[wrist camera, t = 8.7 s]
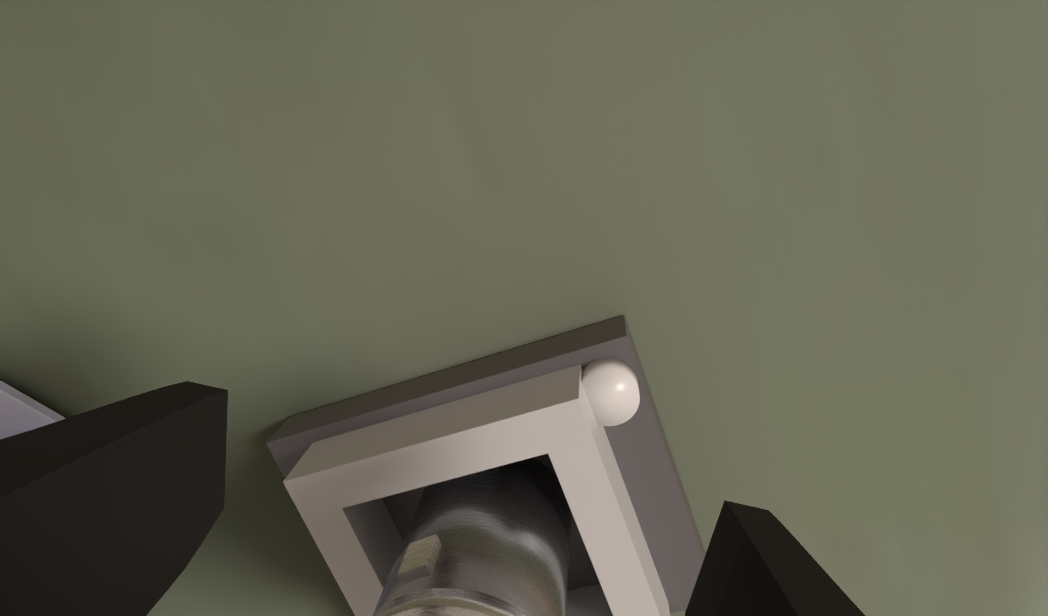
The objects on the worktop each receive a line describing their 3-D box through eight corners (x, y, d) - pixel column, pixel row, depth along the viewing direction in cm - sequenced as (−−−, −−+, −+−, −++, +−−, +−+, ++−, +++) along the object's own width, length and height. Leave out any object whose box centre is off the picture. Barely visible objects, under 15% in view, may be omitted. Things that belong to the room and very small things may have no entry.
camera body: (401, 633, 24) (369, 727, 20) (289, 417, 21) (231, 482, 18) (709, 565, 21) (730, 658, 18) (624, 314, 19) (629, 367, 16)
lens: (599, 549, 20) (601, 763, 14) (463, 593, 21) (407, 810, 15) (530, 416, 18) (498, 586, 12) (389, 470, 20) (295, 651, 13)
